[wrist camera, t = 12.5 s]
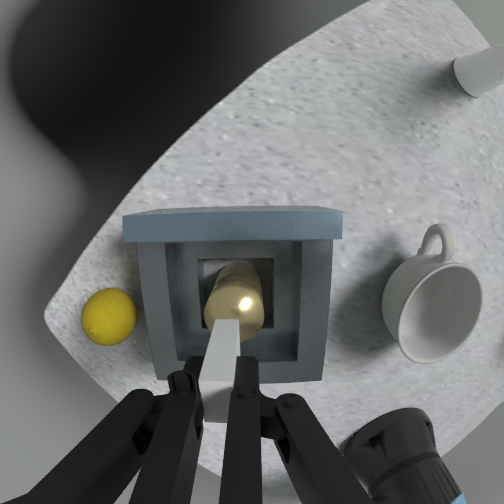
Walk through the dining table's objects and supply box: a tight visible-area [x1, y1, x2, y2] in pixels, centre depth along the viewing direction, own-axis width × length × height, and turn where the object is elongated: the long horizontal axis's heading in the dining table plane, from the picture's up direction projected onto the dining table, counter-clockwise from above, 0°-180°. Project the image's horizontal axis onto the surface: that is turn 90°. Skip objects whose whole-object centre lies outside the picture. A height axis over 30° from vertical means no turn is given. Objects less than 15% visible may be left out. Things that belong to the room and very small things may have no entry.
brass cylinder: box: [204, 262, 264, 342], centre depth 25 cm, size 5×5×8 cm
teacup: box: [382, 223, 483, 364], centre depth 25 cm, size 14×11×8 cm
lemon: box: [82, 288, 137, 346], centre depth 26 cm, size 6×6×8 cm
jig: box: [122, 206, 343, 384], centre depth 25 cm, size 16×16×8 cm
